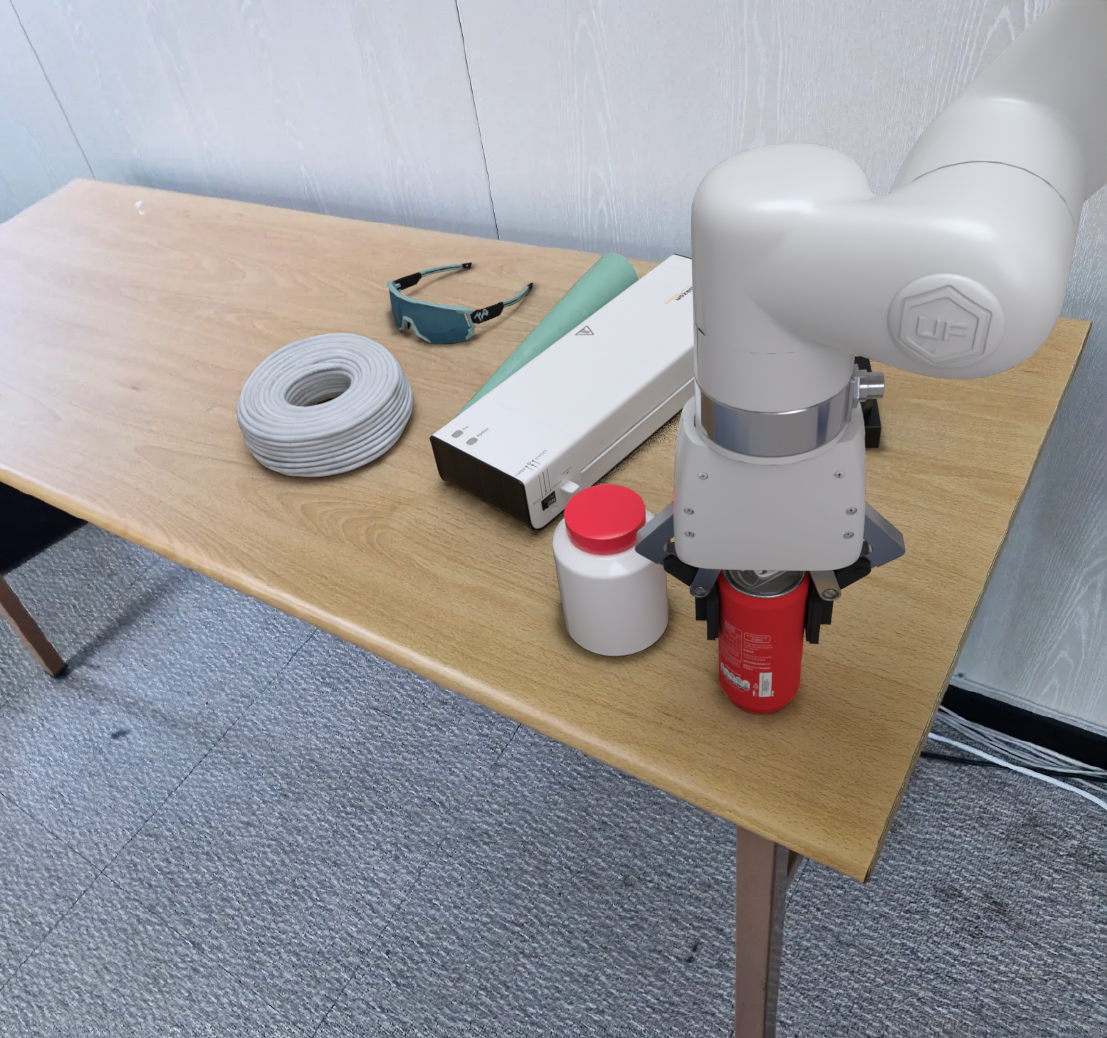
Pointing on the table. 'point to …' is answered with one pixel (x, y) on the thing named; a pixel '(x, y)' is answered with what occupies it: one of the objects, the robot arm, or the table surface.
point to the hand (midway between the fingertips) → (761, 622)
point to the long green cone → (567, 315)
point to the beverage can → (761, 636)
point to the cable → (324, 405)
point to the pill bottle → (608, 573)
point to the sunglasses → (440, 310)
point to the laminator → (578, 402)
